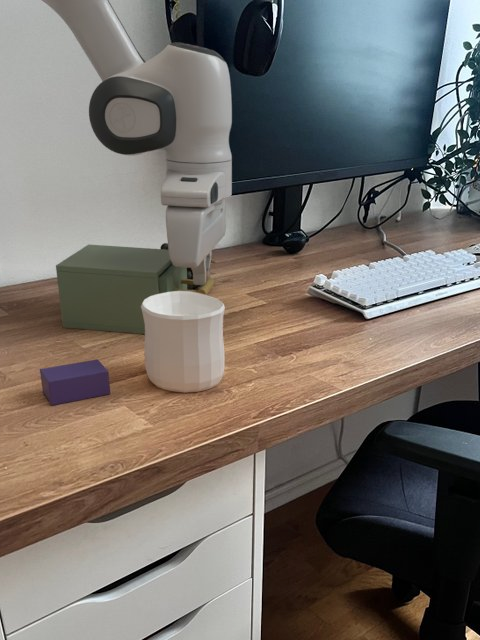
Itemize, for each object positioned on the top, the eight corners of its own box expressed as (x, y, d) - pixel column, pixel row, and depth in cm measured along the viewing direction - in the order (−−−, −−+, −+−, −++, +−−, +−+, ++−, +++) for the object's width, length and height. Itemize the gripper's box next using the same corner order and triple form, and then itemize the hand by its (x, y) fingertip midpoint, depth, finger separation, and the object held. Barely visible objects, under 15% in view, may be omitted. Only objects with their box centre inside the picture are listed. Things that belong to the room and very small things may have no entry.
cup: (157, 360, 91) (154, 287, 86) (232, 366, 90) (232, 293, 85) (135, 389, 83) (129, 311, 78) (216, 397, 81) (216, 318, 77)
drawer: (218, 306, 108) (218, 259, 104) (202, 331, 98) (201, 280, 94) (105, 298, 110) (101, 252, 106) (78, 321, 100) (73, 271, 97)
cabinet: (181, 308, 110) (179, 250, 105) (159, 335, 99) (156, 272, 94) (93, 301, 111) (88, 244, 107) (62, 327, 101) (55, 265, 96)
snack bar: (51, 405, 79) (48, 381, 77) (42, 392, 82) (39, 368, 80) (110, 394, 82) (108, 370, 80) (100, 381, 85) (97, 358, 83)
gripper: (194, 170, 103) (196, 262, 110) (156, 193, 85) (161, 302, 92) (235, 171, 102) (235, 265, 109) (206, 195, 85) (207, 305, 91)
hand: (201, 282), depth 100 cm, fingers closed
